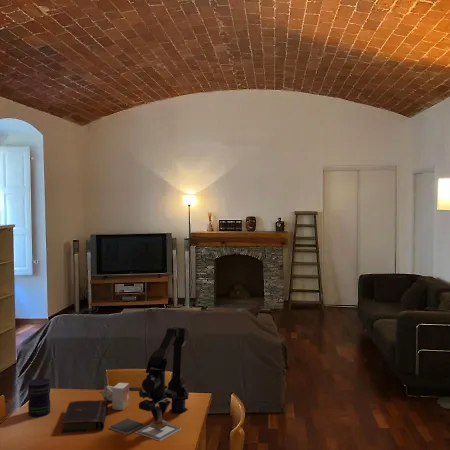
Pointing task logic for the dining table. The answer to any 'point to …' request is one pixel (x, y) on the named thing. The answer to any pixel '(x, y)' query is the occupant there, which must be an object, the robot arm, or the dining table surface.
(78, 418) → the diary
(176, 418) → the dining table surface
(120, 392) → the small box
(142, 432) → the print sheet
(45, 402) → the storage jar
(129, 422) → the ink pad
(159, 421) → the stamp
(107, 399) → the game die
